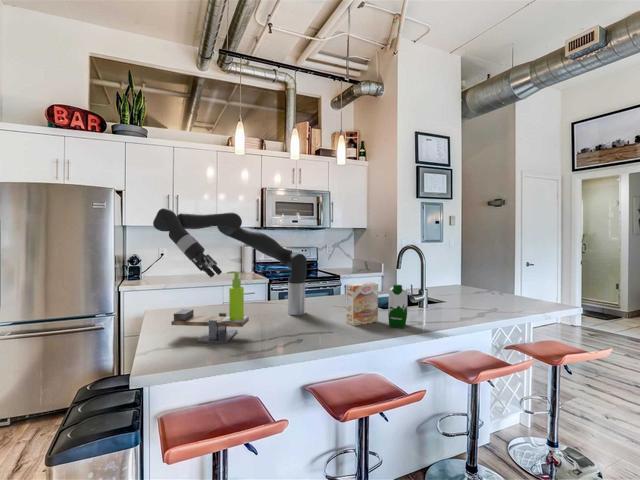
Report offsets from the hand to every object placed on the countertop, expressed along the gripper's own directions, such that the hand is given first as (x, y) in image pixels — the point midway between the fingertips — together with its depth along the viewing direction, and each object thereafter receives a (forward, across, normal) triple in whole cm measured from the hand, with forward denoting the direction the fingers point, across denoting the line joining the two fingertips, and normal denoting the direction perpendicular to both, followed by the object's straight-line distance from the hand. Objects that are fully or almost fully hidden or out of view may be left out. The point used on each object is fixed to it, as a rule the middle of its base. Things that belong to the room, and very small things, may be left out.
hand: (216, 274), depth 147 cm
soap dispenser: (+19, 0, +8) cm, 20 cm away
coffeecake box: (+64, +29, -26) cm, 75 cm away
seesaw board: (+13, 0, +16) cm, 21 cm away
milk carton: (+76, +25, -38) cm, 88 cm away
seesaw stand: (+19, 0, +19) cm, 27 cm away
